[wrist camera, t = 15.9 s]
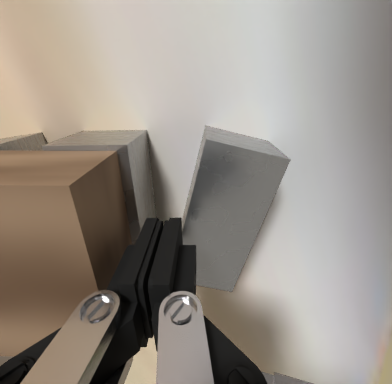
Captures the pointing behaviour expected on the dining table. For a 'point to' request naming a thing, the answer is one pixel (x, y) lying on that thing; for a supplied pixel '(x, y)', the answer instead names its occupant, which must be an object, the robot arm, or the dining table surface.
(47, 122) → the dining table surface
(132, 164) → the bar
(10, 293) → the board
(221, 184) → the bar
